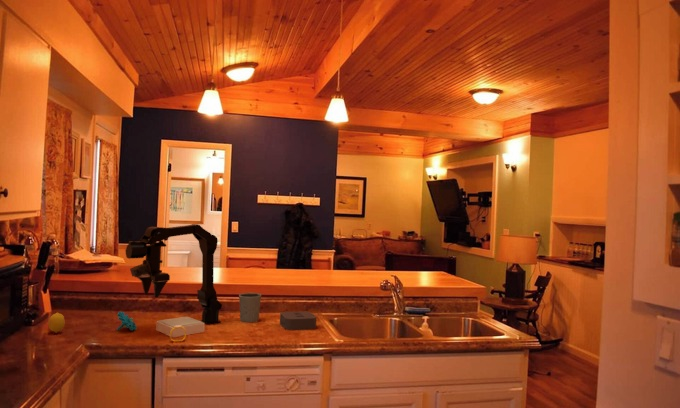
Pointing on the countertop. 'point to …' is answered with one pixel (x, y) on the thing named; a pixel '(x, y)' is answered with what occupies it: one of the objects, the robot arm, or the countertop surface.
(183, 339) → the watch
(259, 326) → the countertop surface
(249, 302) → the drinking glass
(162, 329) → the stand
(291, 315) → the streaming box
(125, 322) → the teal lumpy piece
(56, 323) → the lemon
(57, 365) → the countertop surface
